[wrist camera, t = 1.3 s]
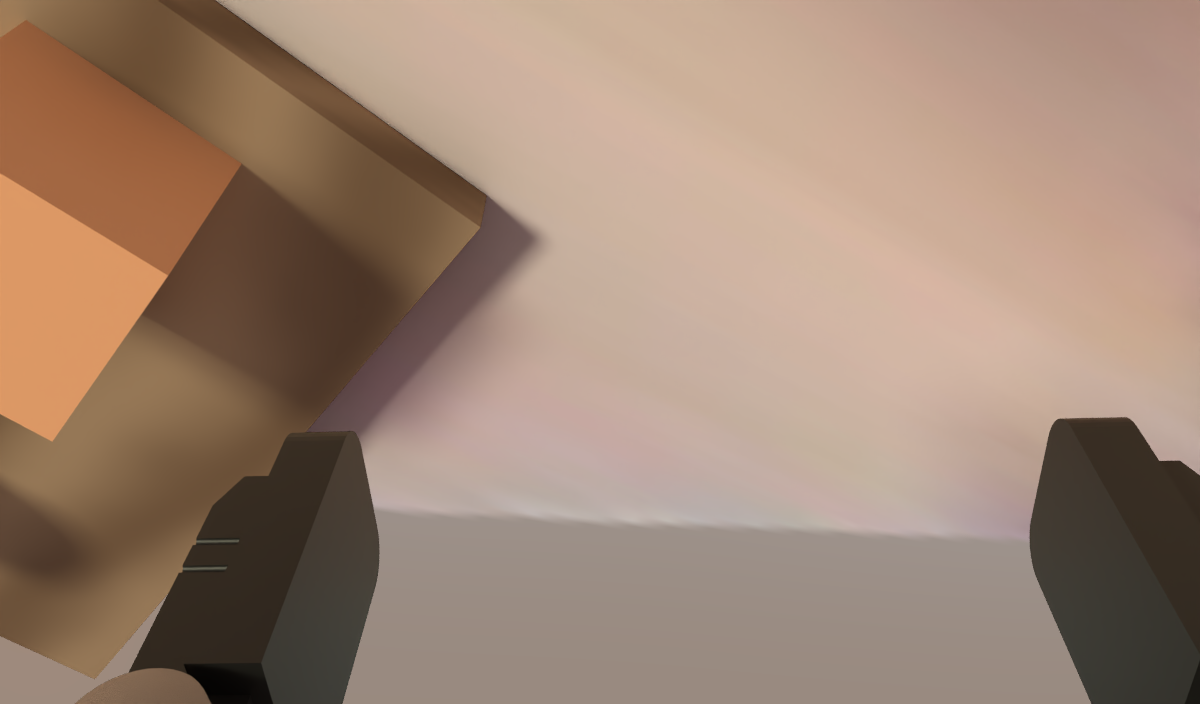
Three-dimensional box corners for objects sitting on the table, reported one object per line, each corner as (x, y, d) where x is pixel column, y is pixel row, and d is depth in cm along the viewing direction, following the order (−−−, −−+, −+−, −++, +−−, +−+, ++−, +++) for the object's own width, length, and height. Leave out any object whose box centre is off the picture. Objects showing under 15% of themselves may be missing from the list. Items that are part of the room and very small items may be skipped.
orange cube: (-67, 191, 30) (-202, 307, 25) (25, 20, 27) (-104, 110, 22) (138, 312, 32) (52, 441, 27) (241, 163, 29) (168, 275, 24)
